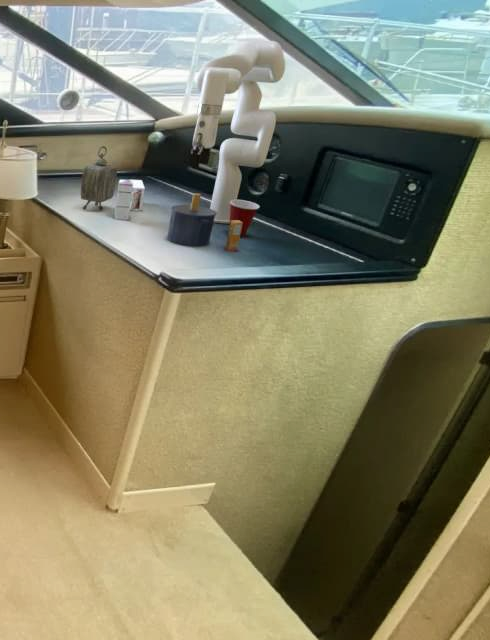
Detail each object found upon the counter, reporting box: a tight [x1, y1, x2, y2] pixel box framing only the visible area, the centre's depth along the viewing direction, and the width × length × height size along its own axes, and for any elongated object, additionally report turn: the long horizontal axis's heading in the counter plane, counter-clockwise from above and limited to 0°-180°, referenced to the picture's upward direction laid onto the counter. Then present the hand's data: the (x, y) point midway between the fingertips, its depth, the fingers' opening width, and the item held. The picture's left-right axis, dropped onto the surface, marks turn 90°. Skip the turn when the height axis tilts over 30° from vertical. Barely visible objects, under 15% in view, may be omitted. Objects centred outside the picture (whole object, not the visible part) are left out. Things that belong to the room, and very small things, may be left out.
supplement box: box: [224, 220, 243, 252], centre depth 207 cm, size 3×3×10 cm
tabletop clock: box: [80, 145, 118, 211], centre depth 248 cm, size 14×9×25 cm, turn 144°
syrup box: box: [114, 179, 134, 221], centre depth 239 cm, size 6×6×14 cm
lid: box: [170, 192, 217, 217], centre depth 211 cm, size 16×16×7 cm
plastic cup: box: [228, 199, 261, 238], centre depth 225 cm, size 11×11×12 cm
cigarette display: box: [128, 179, 146, 212], centre depth 261 cm, size 20×6×9 cm, turn 172°
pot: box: [166, 210, 215, 247], centre depth 215 cm, size 15×20×10 cm
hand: (198, 165), depth 205 cm, fingers open, 9 cm apart
